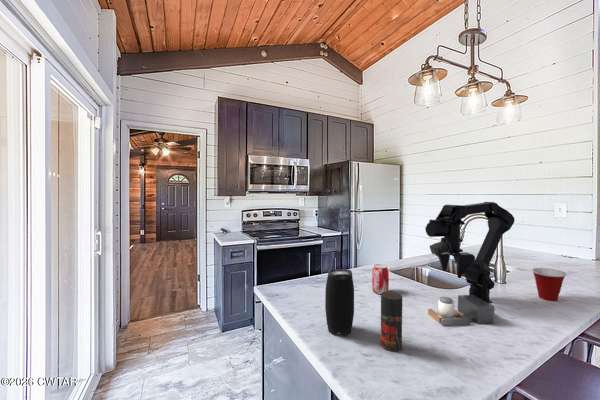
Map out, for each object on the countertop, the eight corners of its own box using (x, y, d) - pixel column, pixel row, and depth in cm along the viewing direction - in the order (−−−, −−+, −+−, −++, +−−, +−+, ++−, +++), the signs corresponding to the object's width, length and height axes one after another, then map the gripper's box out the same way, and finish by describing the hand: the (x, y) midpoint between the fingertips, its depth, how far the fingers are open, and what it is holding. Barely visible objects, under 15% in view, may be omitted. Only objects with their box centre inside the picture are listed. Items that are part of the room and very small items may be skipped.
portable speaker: (320, 328, 89) (320, 269, 88) (342, 321, 94) (342, 265, 93) (337, 340, 81) (337, 276, 81) (359, 332, 86) (359, 271, 86)
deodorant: (377, 340, 81) (377, 291, 81) (396, 339, 82) (396, 291, 81) (385, 352, 75) (385, 299, 75) (405, 351, 76) (406, 299, 75)
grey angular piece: (468, 308, 104) (469, 292, 104) (494, 323, 92) (494, 306, 92) (422, 310, 102) (423, 294, 102) (442, 326, 90) (443, 308, 90)
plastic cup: (525, 296, 116) (526, 268, 116) (538, 292, 121) (539, 265, 120) (558, 305, 106) (558, 276, 106) (570, 301, 111) (571, 272, 110)
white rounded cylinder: (448, 314, 99) (448, 295, 98) (457, 321, 94) (457, 301, 93) (435, 315, 98) (435, 296, 98) (443, 321, 93) (443, 301, 93)
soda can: (389, 295, 116) (389, 268, 116) (372, 294, 118) (372, 267, 117) (387, 290, 123) (387, 264, 123) (371, 289, 125) (371, 263, 124)
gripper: (420, 232, 116) (420, 268, 117) (448, 240, 98) (447, 282, 98) (444, 232, 117) (444, 267, 118) (476, 239, 99) (475, 281, 99)
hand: (451, 274), depth 108 cm, fingers open, 9 cm apart
